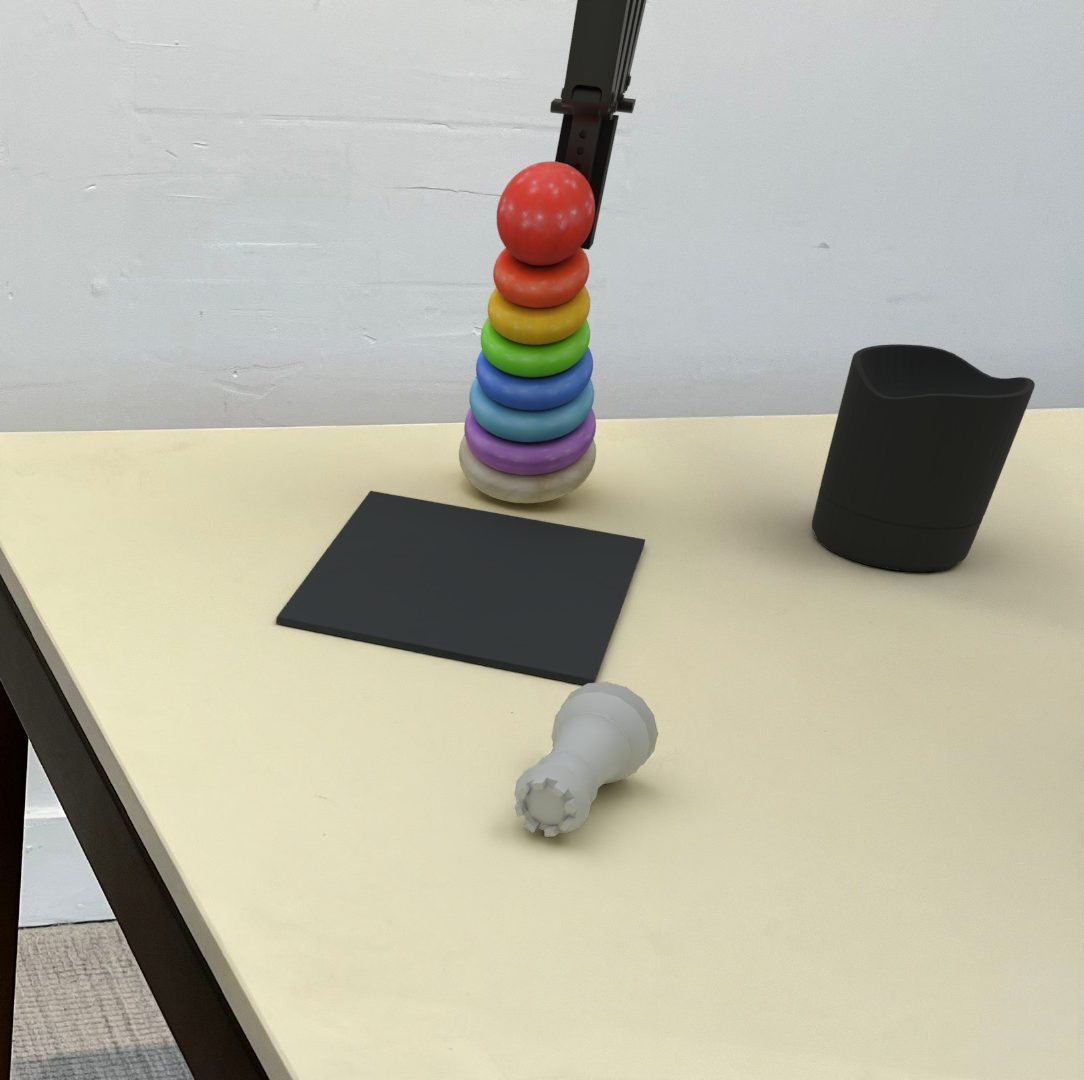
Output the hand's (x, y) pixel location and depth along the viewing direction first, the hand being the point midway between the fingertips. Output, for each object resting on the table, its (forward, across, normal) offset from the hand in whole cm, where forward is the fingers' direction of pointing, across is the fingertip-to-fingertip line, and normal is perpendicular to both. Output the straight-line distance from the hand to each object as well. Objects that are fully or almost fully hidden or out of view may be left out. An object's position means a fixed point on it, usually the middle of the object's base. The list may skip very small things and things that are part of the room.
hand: (566, 242), depth 101 cm
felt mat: (+14, +14, 0) cm, 20 cm away
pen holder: (+15, -3, +21) cm, 26 cm away
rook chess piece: (+12, +32, +10) cm, 36 cm away
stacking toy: (+13, -1, 0) cm, 13 cm away
